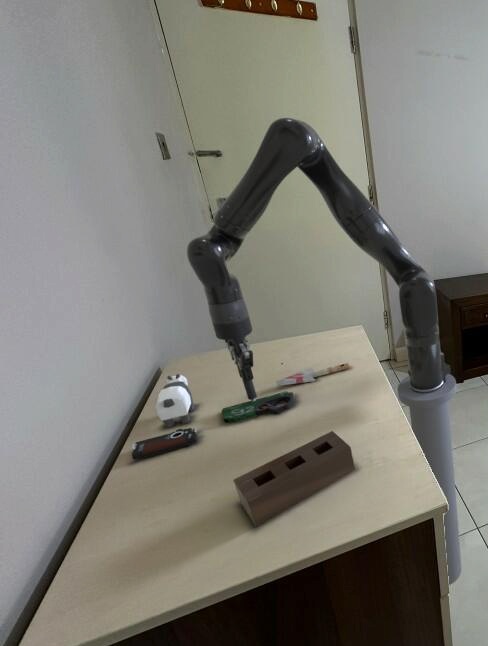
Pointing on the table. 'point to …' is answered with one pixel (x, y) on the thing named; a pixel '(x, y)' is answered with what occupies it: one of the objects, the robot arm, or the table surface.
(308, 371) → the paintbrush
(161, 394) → the giant panda
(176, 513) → the table surface
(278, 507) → the pen stand
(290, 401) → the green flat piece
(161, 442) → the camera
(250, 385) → the stylus
